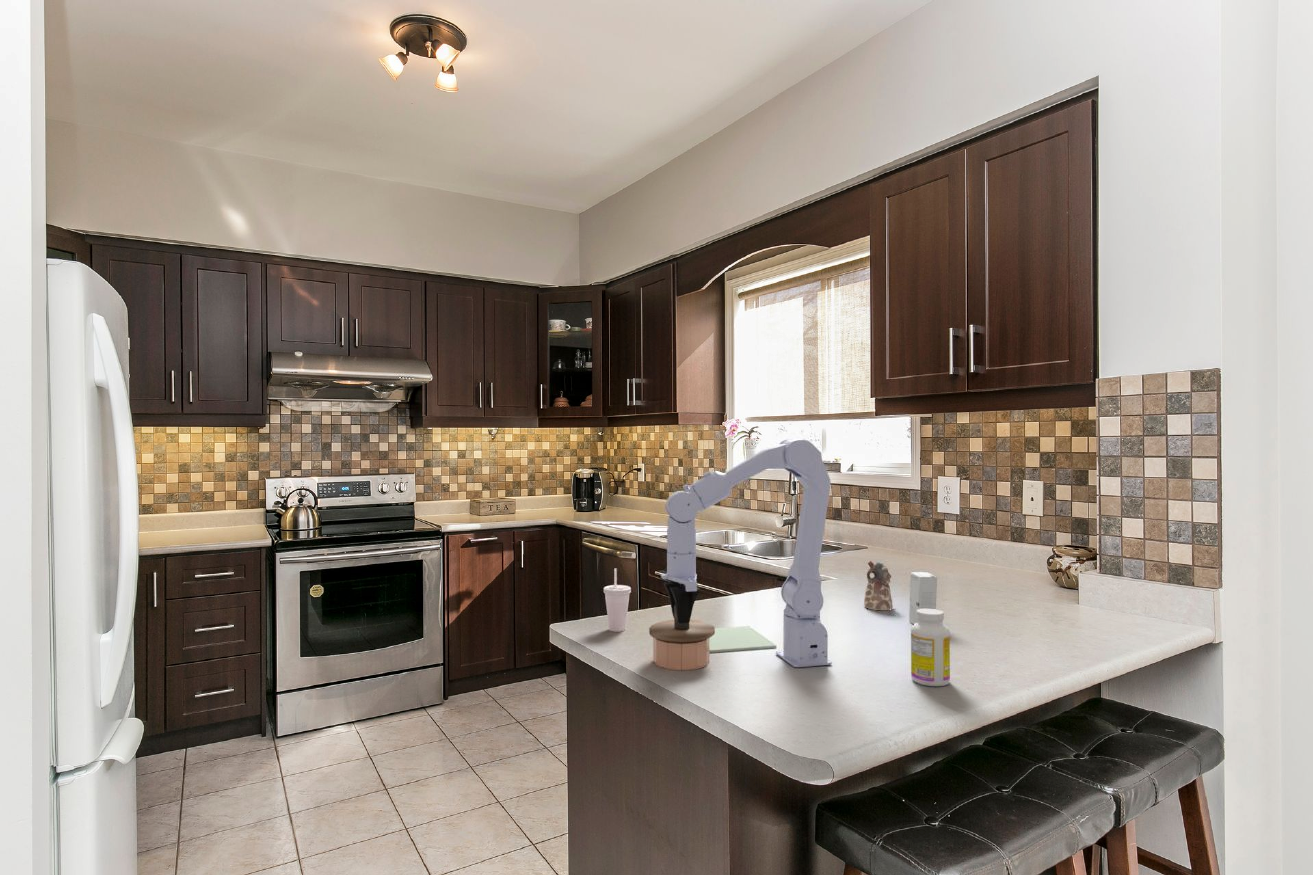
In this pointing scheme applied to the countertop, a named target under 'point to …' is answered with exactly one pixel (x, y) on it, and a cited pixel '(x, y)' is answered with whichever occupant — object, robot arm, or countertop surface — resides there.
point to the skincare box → (922, 593)
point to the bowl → (681, 654)
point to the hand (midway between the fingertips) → (681, 620)
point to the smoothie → (617, 604)
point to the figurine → (878, 588)
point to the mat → (738, 640)
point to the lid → (681, 630)
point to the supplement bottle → (930, 649)
